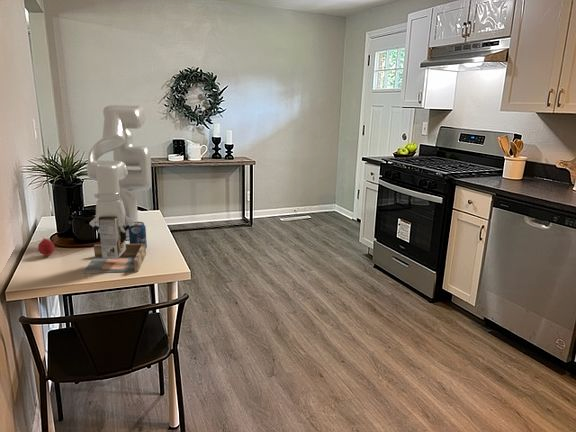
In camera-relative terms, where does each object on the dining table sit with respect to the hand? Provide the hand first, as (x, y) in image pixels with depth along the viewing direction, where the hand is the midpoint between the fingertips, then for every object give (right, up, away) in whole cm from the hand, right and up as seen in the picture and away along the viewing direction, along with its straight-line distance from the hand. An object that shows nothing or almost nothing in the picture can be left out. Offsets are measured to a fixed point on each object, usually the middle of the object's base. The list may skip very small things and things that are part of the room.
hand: (113, 241), depth 165 cm
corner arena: (0, -9, +4) cm, 10 cm away
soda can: (+3, -5, +19) cm, 20 cm away
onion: (-31, -7, +9) cm, 33 cm away
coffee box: (0, -5, +1) cm, 5 cm away
